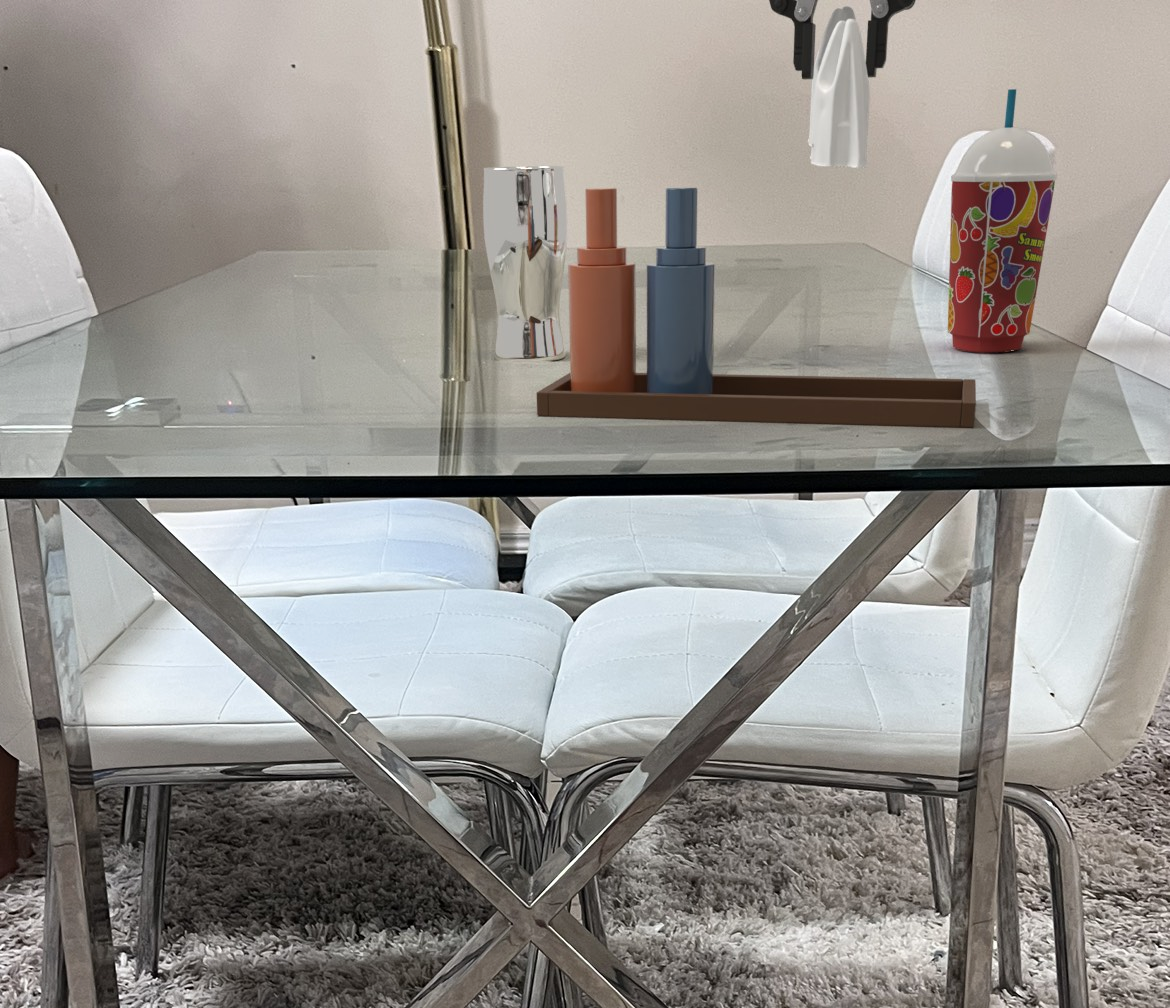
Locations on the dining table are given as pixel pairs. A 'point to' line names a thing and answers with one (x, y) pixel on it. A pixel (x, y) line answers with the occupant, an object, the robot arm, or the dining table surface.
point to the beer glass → (526, 258)
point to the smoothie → (998, 237)
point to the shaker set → (840, 95)
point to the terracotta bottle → (602, 303)
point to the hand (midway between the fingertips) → (839, 76)
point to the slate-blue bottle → (680, 304)
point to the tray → (780, 401)
